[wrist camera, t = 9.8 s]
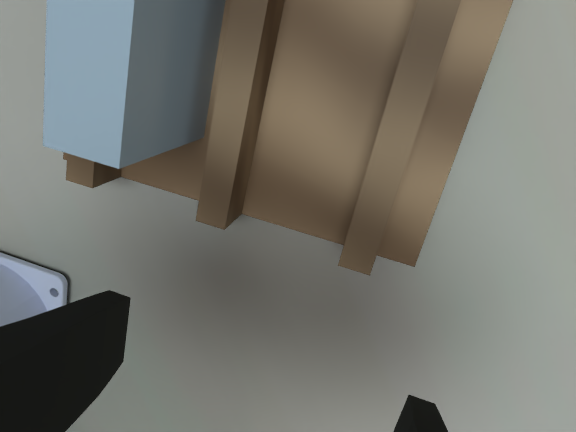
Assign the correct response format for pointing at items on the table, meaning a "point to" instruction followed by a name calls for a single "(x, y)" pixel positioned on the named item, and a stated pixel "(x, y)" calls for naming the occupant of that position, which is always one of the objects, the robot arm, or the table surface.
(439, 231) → the table surface
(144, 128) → the tile
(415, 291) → the table surface
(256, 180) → the rack
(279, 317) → the table surface
